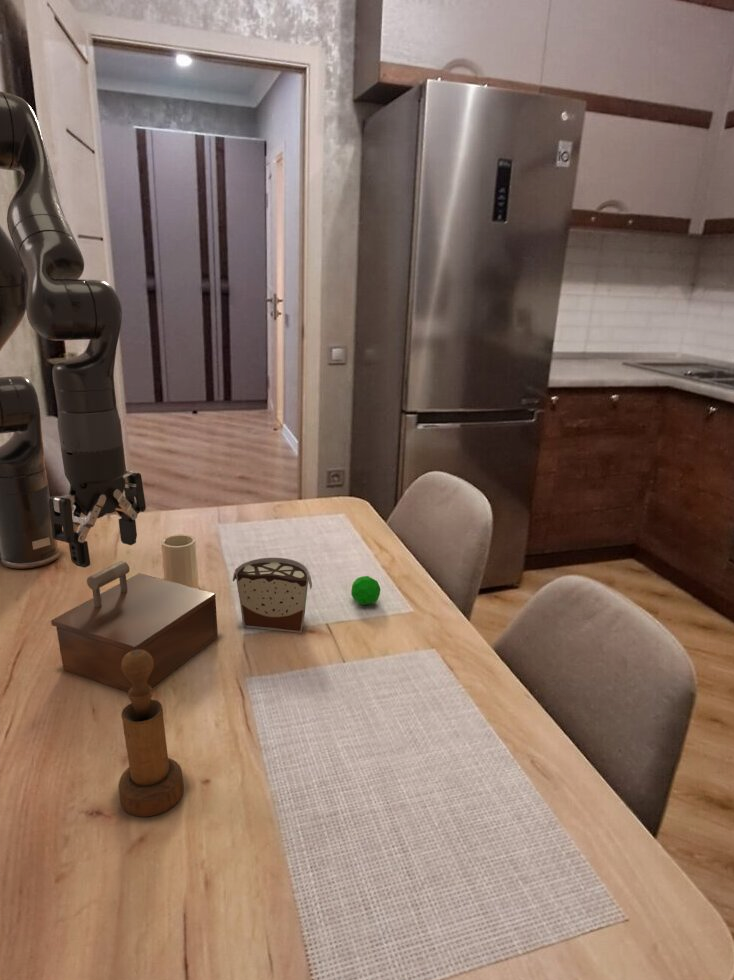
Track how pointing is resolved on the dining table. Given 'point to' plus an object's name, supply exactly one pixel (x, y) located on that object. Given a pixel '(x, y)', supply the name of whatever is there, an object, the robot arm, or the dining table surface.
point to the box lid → (131, 608)
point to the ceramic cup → (180, 560)
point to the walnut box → (165, 649)
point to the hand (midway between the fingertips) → (106, 554)
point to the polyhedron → (365, 590)
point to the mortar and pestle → (146, 746)
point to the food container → (273, 593)
